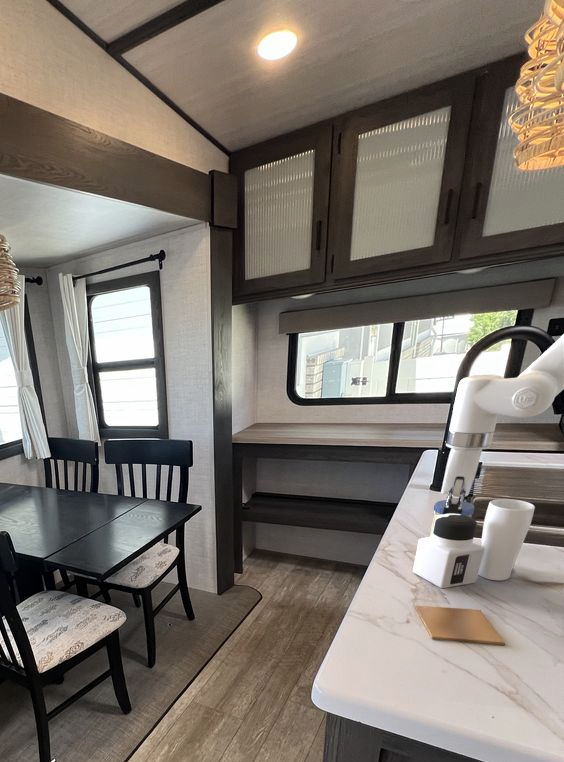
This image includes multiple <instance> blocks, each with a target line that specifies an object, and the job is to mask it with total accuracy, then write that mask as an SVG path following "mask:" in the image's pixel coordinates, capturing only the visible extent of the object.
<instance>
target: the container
mask: <svg viewBox="0 0 564 762" xmlns="http://www.w3.org/2000/svg"><path fill="white" fill-rule="evenodd" d="M477 526H478V522H477V520H476V519H474V518H473V517H472V516H471V517H469V516H466V515H462V514H443V515H440V516H438V517H437V518H436V519H435V523H434V528H433V533H432V537H430V536H428V537H421V538H419V539H418V541H417V547H416V553H415V557H414V561H413V569H412V573H413V574H415V575H417V576H419V577H420V578H422V579H424V580H426V581H427V582H429V583H431V584H433V585H434V586H436V587H438V588H440V589H448V588H451V587H452V588H453V587H459V586H463V585H464V586H465V585H471V584H475V583H477V579H478V576H479V575H478V572H479V569H480V565H481V561H482V557H483V553H484V549H485V548H484V547H483V546H481V544H478V543H476V542H474V538H475V533H476V530H477Z"/></svg>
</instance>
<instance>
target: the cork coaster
mask: <svg viewBox="0 0 564 762" xmlns="http://www.w3.org/2000/svg"><path fill="white" fill-rule="evenodd" d="M414 608H415V610H416V612H417V614H418V616H419V617H420V619H421V622H422V623H423V625H424V626H425V629H426V631H427V634H428V635H429V636H430V639H431V640H439V641H452V642H464V643H475V644H485V645H486V644H487V645H499V646H505V645H506V641H505V639H504V638H503V637H502V636H501V635H500V634H499V632H498V631H497V629H496V628H495V627H494V626H493V624H492V623H491V622H490V620H489V619H488V617H487V616H486V614H484V612H483V611H482V610H481V609H477V608H476V609H473V608H460V607H459V608H457V607H443V606H429V605H415V607H414Z"/></svg>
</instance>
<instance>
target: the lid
mask: <svg viewBox="0 0 564 762" xmlns="http://www.w3.org/2000/svg"><path fill="white" fill-rule="evenodd" d="M446 503H447V499H443V500H438V501H436V502H435V503H434V506H433V511H434V512H437V513H439V514H442V515H443V511H444V507H446ZM449 504H450V503H449ZM458 508H459V507H458ZM474 513H475V505H474V504H472V503H470V502H468V501H465V500H464V501H463V503H462V515H466V516H469V515H473V514H474Z"/></svg>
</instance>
